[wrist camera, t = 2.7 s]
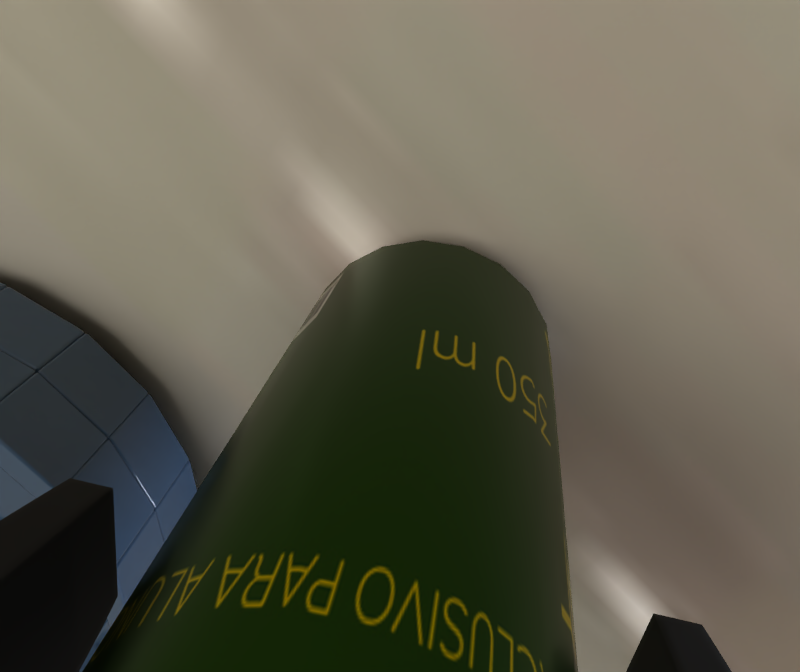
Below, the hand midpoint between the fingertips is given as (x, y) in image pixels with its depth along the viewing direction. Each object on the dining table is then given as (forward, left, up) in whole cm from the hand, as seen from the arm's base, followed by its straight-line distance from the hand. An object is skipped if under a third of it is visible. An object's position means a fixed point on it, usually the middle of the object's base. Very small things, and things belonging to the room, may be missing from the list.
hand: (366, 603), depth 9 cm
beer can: (0, 0, -8) cm, 8 cm away
